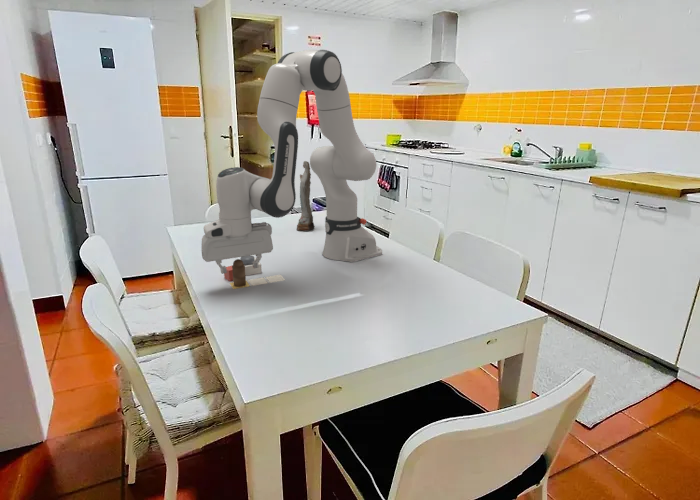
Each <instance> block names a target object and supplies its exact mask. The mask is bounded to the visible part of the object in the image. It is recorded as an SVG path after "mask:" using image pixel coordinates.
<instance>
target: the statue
mask: <svg viewBox="0 0 700 500" xmlns="http://www.w3.org/2000/svg"><path fill="white" fill-rule="evenodd" d="M302 168H303V169H304V172H303V173H302V174H299V178H300V179H299V180H300V181H299V182H300V183H299V202H300V210H301V214H300V217H299V219H298V222H297V225H296V231H297V232H307V231H311V230H314V229H315V224H314V216H313V212H312V209H311V201H310V198H311V197H310V196H311V184H312V182H311V176H312V174H311V166H310V161H306V160H304V161H303V163H302Z"/></svg>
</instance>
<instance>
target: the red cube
mask: <svg viewBox="0 0 700 500" xmlns="http://www.w3.org/2000/svg"><path fill="white" fill-rule="evenodd" d="M232 266H233V264H232V265H228V266H226V269H227V270H226V271H227V273H224V274H223V278H224V279H226V280H227V281H228V282H233V271H232Z"/></svg>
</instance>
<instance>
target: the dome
mask: <svg viewBox="0 0 700 500" xmlns="http://www.w3.org/2000/svg"><path fill="white" fill-rule="evenodd" d="M239 258H240V260H242V261H243V264H244V265H245V266H246V265H253V264H252V262H253V261H255V259H254V258H255V255H250V256H244V257H239Z"/></svg>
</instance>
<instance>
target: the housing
mask: <svg viewBox="0 0 700 500" xmlns="http://www.w3.org/2000/svg"><path fill="white" fill-rule="evenodd" d="M254 259H256V257H254ZM258 264H259V268H253V266H252V265H246V266H245V277H246V276H250V275H256V274H262V273H263V271H262V269H263V268H262V263H261V262H260V261H259V263H258Z"/></svg>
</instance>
